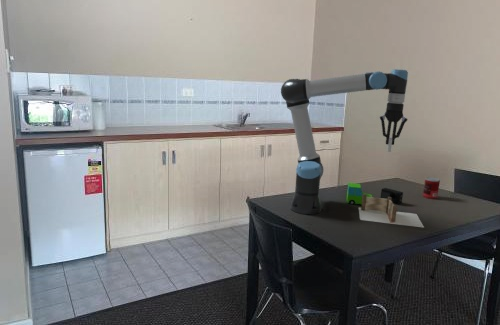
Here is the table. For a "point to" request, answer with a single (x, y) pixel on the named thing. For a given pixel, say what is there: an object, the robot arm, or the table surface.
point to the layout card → (384, 217)
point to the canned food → (431, 188)
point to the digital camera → (392, 195)
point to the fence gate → (392, 211)
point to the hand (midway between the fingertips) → (388, 151)
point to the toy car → (355, 194)
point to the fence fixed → (375, 203)
